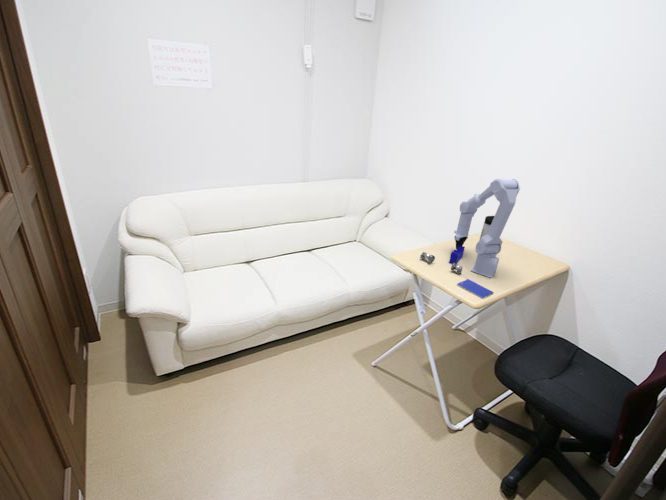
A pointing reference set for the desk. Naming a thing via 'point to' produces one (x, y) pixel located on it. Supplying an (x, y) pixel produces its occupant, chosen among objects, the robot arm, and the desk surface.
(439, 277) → the desk surface
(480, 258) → the robot arm
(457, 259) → the cable clip
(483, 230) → the travel mug
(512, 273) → the desk surface
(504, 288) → the desk surface
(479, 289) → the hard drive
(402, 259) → the desk surface
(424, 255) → the shaft
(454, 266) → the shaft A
